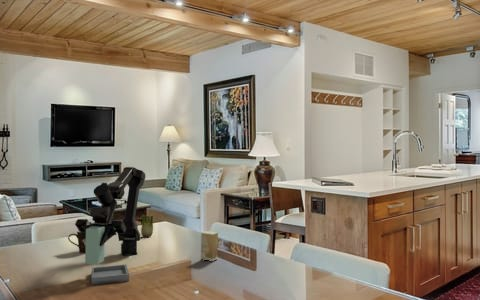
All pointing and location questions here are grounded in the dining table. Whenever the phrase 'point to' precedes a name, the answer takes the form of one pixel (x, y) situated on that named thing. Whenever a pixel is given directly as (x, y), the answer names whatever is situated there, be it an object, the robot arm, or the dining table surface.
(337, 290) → the dining table surface
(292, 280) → the dining table surface
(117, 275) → the box
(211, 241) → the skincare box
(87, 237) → the teal block
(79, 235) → the coffee mug
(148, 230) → the fennel bulb
